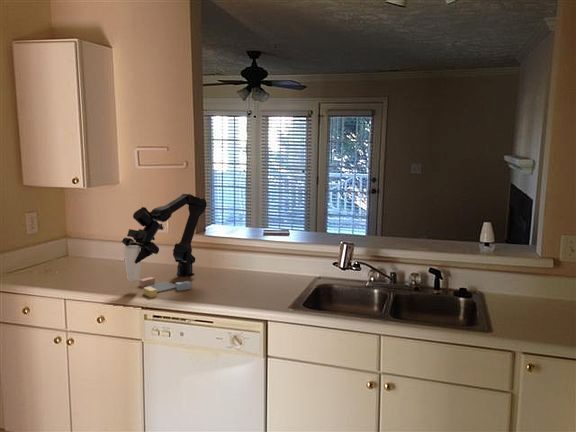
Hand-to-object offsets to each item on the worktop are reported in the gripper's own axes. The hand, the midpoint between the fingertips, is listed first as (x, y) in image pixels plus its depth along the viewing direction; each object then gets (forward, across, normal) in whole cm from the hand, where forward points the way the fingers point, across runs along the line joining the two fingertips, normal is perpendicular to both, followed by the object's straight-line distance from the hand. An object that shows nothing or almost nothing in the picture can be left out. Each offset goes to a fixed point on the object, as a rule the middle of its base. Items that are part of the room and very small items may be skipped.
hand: (130, 261), depth 207 cm
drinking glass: (+5, 0, +7) cm, 9 cm away
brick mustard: (+9, +10, +11) cm, 17 cm away
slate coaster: (+2, +6, +18) cm, 19 cm away
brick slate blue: (-1, +15, +21) cm, 26 cm away
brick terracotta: (+2, -2, +17) cm, 17 cm away
